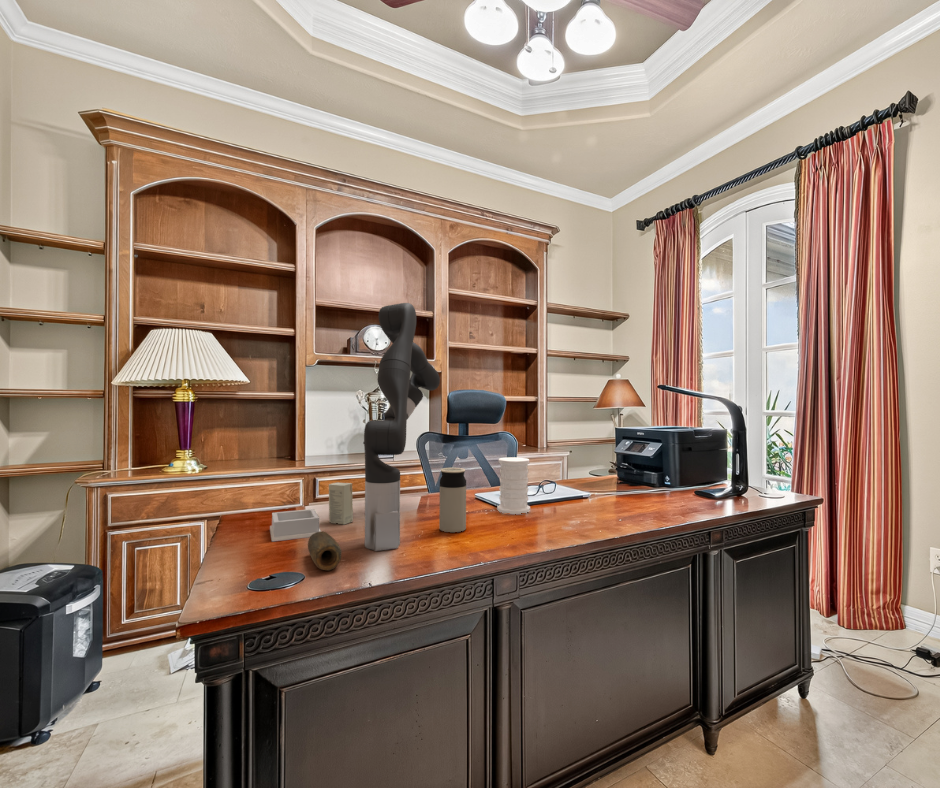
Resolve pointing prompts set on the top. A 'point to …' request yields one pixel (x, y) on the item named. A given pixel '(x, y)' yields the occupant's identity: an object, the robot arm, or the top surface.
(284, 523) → the bottle stand
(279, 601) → the top surface
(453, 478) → the travel mug
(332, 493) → the skincare box
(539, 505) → the top surface
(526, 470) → the decorative container
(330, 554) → the brown hollow cylinder
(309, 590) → the top surface
